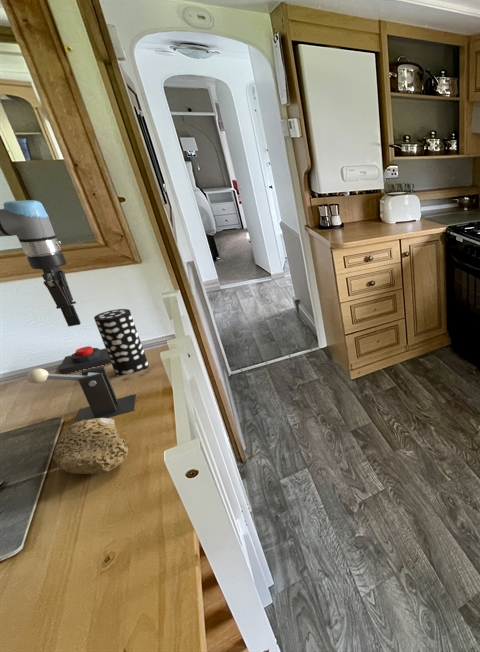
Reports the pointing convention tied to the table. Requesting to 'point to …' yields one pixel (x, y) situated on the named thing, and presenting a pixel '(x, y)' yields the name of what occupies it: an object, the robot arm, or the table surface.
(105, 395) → the lever base
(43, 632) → the table surface
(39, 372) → the switch lever
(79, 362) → the red push button box
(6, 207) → the robot arm
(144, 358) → the white-spotted black cylinder
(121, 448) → the sponge
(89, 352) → the power button
